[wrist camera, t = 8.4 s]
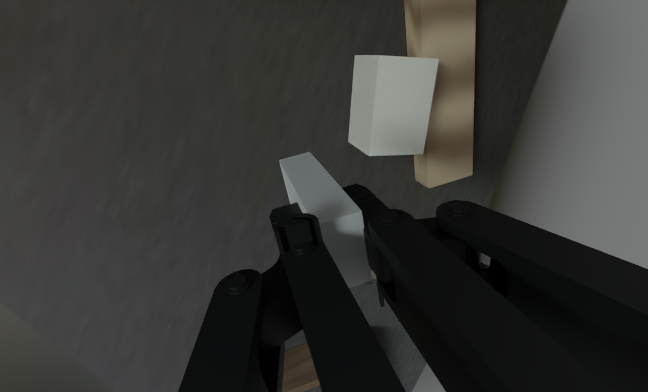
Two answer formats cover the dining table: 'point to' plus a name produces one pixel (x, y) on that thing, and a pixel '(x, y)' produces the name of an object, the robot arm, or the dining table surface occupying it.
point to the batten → (445, 85)
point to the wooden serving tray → (299, 370)
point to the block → (391, 104)
